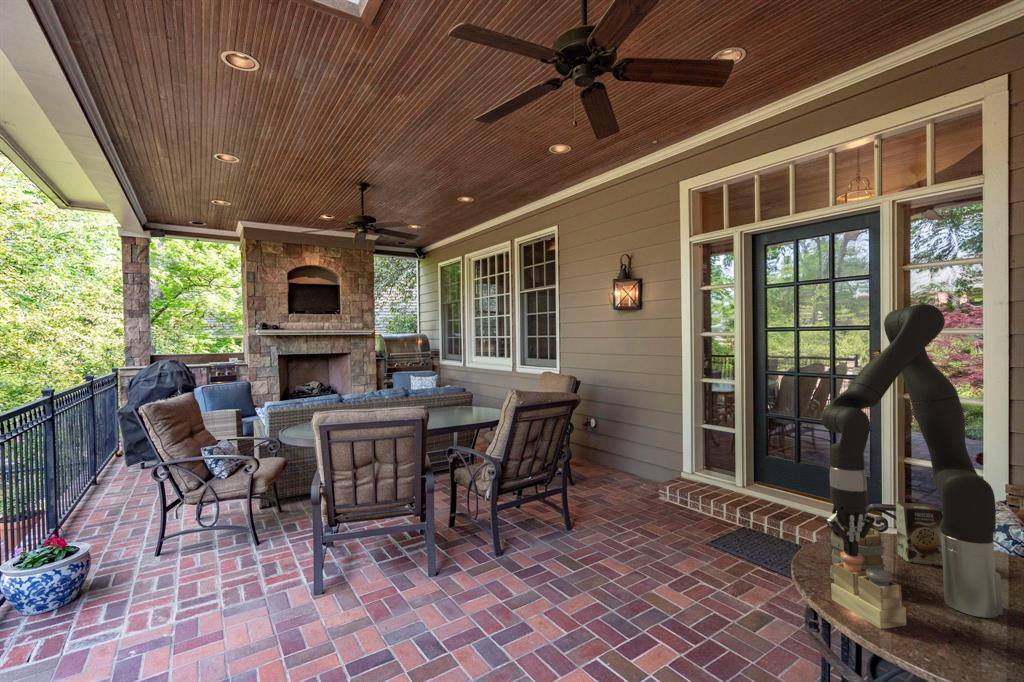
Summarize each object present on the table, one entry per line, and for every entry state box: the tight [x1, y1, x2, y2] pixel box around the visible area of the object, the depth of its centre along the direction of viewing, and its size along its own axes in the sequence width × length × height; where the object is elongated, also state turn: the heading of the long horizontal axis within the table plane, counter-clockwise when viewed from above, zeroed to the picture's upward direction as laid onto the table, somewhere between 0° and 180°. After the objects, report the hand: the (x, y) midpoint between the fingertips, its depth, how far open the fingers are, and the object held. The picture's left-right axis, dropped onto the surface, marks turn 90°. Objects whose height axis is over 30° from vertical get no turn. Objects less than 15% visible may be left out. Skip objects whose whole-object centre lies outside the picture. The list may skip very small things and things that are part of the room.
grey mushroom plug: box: [866, 568, 892, 587], centre depth 108 cm, size 5×5×7 cm
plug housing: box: [830, 563, 907, 630], centre depth 111 cm, size 7×13×9 cm, turn 9°
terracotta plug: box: [840, 551, 863, 573], centre depth 115 cm, size 5×5×7 cm
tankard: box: [829, 527, 886, 581], centre depth 129 cm, size 20×13×15 cm, turn 143°
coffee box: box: [895, 501, 943, 566], centre depth 138 cm, size 9×6×16 cm
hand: (851, 554), depth 115 cm, fingers closed
